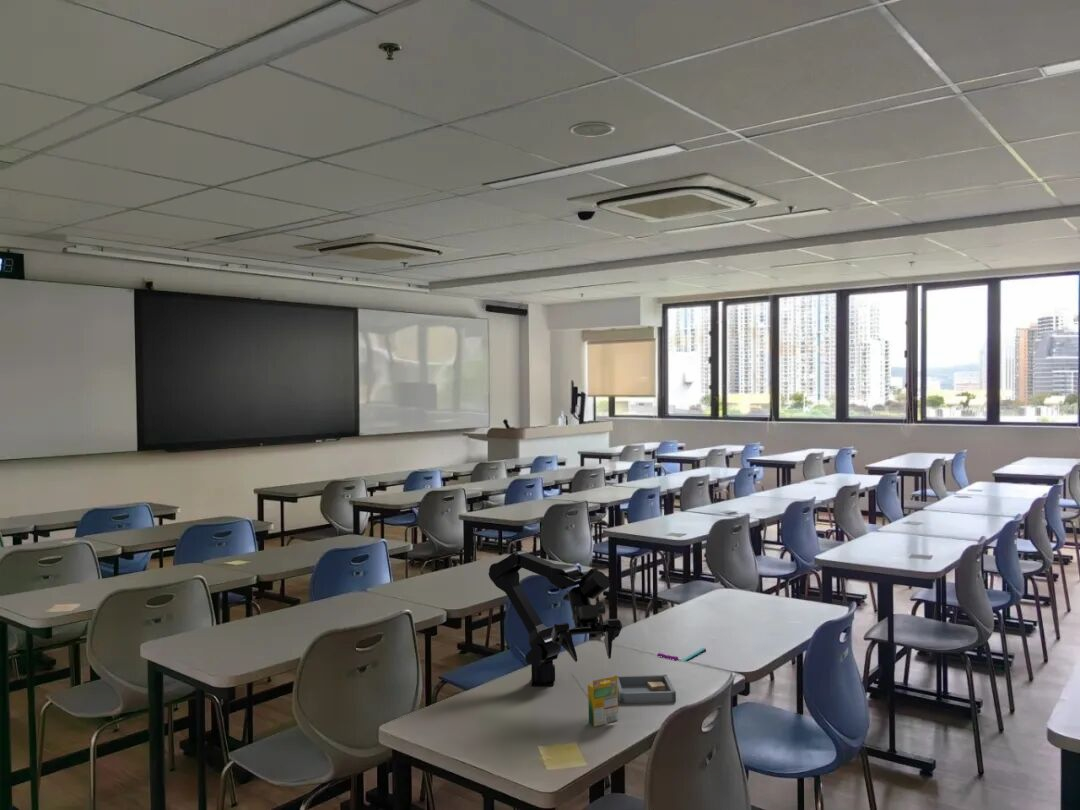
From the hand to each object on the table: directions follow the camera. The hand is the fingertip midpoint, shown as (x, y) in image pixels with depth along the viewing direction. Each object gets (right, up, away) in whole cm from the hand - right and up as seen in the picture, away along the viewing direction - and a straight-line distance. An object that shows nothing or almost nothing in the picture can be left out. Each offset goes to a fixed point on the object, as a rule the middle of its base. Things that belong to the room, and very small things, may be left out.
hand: (593, 659), depth 209 cm
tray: (+15, -13, +10) cm, 22 cm away
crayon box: (+2, -14, -8) cm, 16 cm away
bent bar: (+27, -14, +40) cm, 50 cm away
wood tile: (+19, -12, +14) cm, 27 cm away
